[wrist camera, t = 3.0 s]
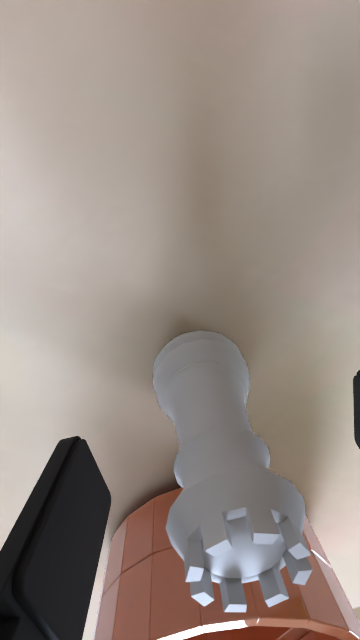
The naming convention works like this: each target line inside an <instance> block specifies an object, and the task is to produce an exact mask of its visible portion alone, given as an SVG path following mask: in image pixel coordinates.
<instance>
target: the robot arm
mask: <svg viewBox="0 0 360 640" xmlns="http://www.w3.org/2000/svg"><path fill="white" fill-rule="evenodd" d="M353 394H354V437H355V441H356V444H357V446H358V447H359V449H360V370H359V371H358V372H357V375H356V376H354V378H353ZM110 506H111V495H110V492H109V489H108V487H107V485H106V483H105V481H104V479H103V476H102V474H101V472H100V470H99V468H98V466H97V464H96V461H95V459H94V457H93V455H92V453H91V451H90V448H89V446H88V444H87V442H86V440H84V439H82V440H81V438H80V437H79V436H75V437H71V438H66V439H62V440H60V441H59V443H58V444H57V446H56V448H55V450H54V452H53V454H52V455H51V457H50V459H49V461H48V463H47V465H46V467H45V468H44V470H43V472H42V474H41V476H40V478H39V480H38V482H37V483H36V485H35V487H34V489H33V491H32V493H31V495H30V497H29V498H28V500H27V502H26V504H25V506H24V508H23V510H22V512H21V513H20V515H19V517H18V519H17V521H16V523H15V525H14V527H13V528H12V530H11V532H10V534H9V536H8V538H7V540H6V541H5V543H4V545H3V547H2V549H1V551H0V640H82V637H83V632H84V627H85V623H86V618H87V613H88V609H89V604H90V599H91V595H92V590H93V585H94V581H95V576H96V571H97V567H98V562H99V557H100V553H101V548H102V543H103V539H104V534H105V529H106V525H107V520H108V515H109V511H110Z"/></svg>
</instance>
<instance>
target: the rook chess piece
mask: <svg viewBox="0 0 360 640" xmlns="http://www.w3.org/2000/svg"><path fill="white" fill-rule="evenodd" d="M152 377H153V380H154V384H153V388H154V391H155V395H156V398H157V401H158V404H159V406H160V408H161V409H162V410H163V411H164V412H165V413H166V414H167V416H168V417H169V418H170V419H171V421H172V422H173V423H174V425H175V429H176V433H177V437H178V441H179V452H178V453H177V454H176V458H175V463H174V468H173V470H174V473H175V476H176V480H177V483H178V484H179V485H180V486H181V487H182V488H183V490H182V492H181V493H180V495H179V496H178V497H177V499H176V500H175V502H174V503H173V505H172V506H171V508H170V510H169V515H168V519H167V524H166V531H167V534H168V536H169V539H170V542H171V544H172V546H173V548H174V549H175V550H176V552H177V553H178V554H179V555H180V557H181V558H182V559H183V561H184V567H185V582H190V593H191V597H192V598H194V599H195V600H196V601H198V602H199V603H200V604H201V605H203V606H204V607H205V606H206V605H208V604H209V603H211V602H212V601H214V594H213V586H212V581H213V582H216V583H219V585H220V592H221V598H222V604H223V611H224V612H246V609H247V603H246V598H245V594H244V589H243V585H242V583H247V582H251V581H256V580H259V581H260V585H261V589H262V592H263V596H264V600H265V602H266V604H267V605H268V607H271V606H273V605H276V604H278V603H280V602H282V601H284V600H286V599H288V598H289V596H288V593H287V590H286V587H285V584H284V581H283V578H282V575H281V573H280V570H281V569H282V568H283V567H284V566H285V565H286V567H287V570H288V572H289V575H290V578H291V580H292V583H295V584H301V585H305V584H306V582H307V580H308V578H309V576H310V574H311V572H312V568H311V565H310V563H309V561H308V558H307V556H310V555H311V553H310V551H309V549H308V547H307V544H306V542H305V540H304V538H303V536H302V533H303V527H304V521H305V507H304V497H303V496H302V495H301V494H300V492H299V491H298V490H297V489H296V487H295V486H294V485H293V483H292V482H291V481H289V480H287V479H285V478H283V477H281V476H280V475H278V474H276V473H274V472H272V471H270V470H268V467H269V464H270V456H269V449H268V447H267V445H266V444H265V443H264V442H263V440H262V439H261V438H260V436H258V435H256V434H254V432H253V430H252V428H251V426H250V423H249V419H248V415H247V411H246V407H245V405H246V402H247V399H248V392H249V389H250V379H249V373H248V367H247V364H246V363H245V361H244V359H243V355H242V353H241V352H240V350H239V349H238V348H237V346H236V345H235V343H234V342H233V341H231V340H230V339H228V338H226V337H225V336H223V335H221V334H219V333H217V332H210V331H202V330H197V331H193V332H189V333H184V334H180V335H179V336H177V337H176V338H174V339H173V340H171V341H170V342H168V343H167V344H165V345H164V347H163V348H162V350H161V351H160V353H159V354H158V356H157V357H156V359H155V362H154V369H153V376H152Z"/></svg>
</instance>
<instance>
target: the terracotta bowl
mask: <svg viewBox="0 0 360 640" xmlns="http://www.w3.org/2000/svg"><path fill="white" fill-rule="evenodd" d="M182 490H183V488H182V487H181V488H178V489H176V490H173V491H170V492H167V493H165V494H162V495H159V496H156V497H155V498H153V499H151V500H150V501H149V502H147V503H146V504H144V505H143V506H141V507H140V508H138V509H137V510H136V511H134V512H133V513H131V514H130V515H128V516H127V517H126V519H125V520H124V521H123V523H122V524H121V525H120V527H119V528H118V529H117V531H116V532H115V533H114V535H113V536H112V539H111V543H110V548H109V552H108V557H107V562H106V568H105V573H104V579H103V585H102V590H101V596H100V602H99V607H98V613H97V619H96V624H95V630H94V636H93V640H360V623H359V621H358V619H357V617H356V615H355V613H354V611H353V609H352V607H351V605H350V603H349V601H348V599H347V597H346V595H345V593H344V591H343V589H342V587H341V585H340V583H339V581H338V579H337V577H336V575H335V573H334V571H333V569H332V567H331V565H330V563H329V561H328V559H327V557H326V555H325V553H324V551H323V549H322V547H321V545H320V543H319V541H318V539H317V537H316V535H315V533H314V531H313V529H312V527H311V525H310V523H309V521H308V519H307V517H306V515H305V521H304V527H303V533H302V536H303V538H304V540H305V542H306V544H307V547H308V549H309V551H310V553H311V555H310V556H307V558H308V561H309V563H310V565H311V568H312V572H311V574H310V576H309V578H308V580H307V582H306V584H305V585H301V584H295V583H292V580H291V578H290V575H289V572H288V570H287V567H286V565H285V566H284V567H283V568H282V569H281V570H280V573H281V575H282V578H283V581H284V584H285V587H286V590H287V593H288V596H289V598H288V599H286V600H284V601H282V602H280V603H278V604H276V605H273V606H271V607H268V605H267V604H266V602H265V600H264V596H263V592H262V589H261V585H260V581H259V580H256V581H251V582H247V583H242V585H243V589H244V594H245V598H246V603H247V609H246V612H224V611H223V604H222V598H221V592H220V585H219V583H216V582H213V581H212V586H213V594H214V601H212V602H211V603H209V604H208V605H206V606H205V607H204V606H203V605H201V604H200V603H199V602H198V601H196V600H195V599H194V598H192V597H191V593H190V582H185V567H184V561H183V559H182V558H181V557H180V555H179V554H178V553H177V552H176V550H175V549H174V548H173V546H172V544H171V542H170V539H169V536H168V534H167V531H166V524H167V519H168V515H169V510H170V508H171V506H172V505H173V503H174V502H175V500H176V499H177V497H178V496H179V495H180V493H181V492H182Z"/></svg>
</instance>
